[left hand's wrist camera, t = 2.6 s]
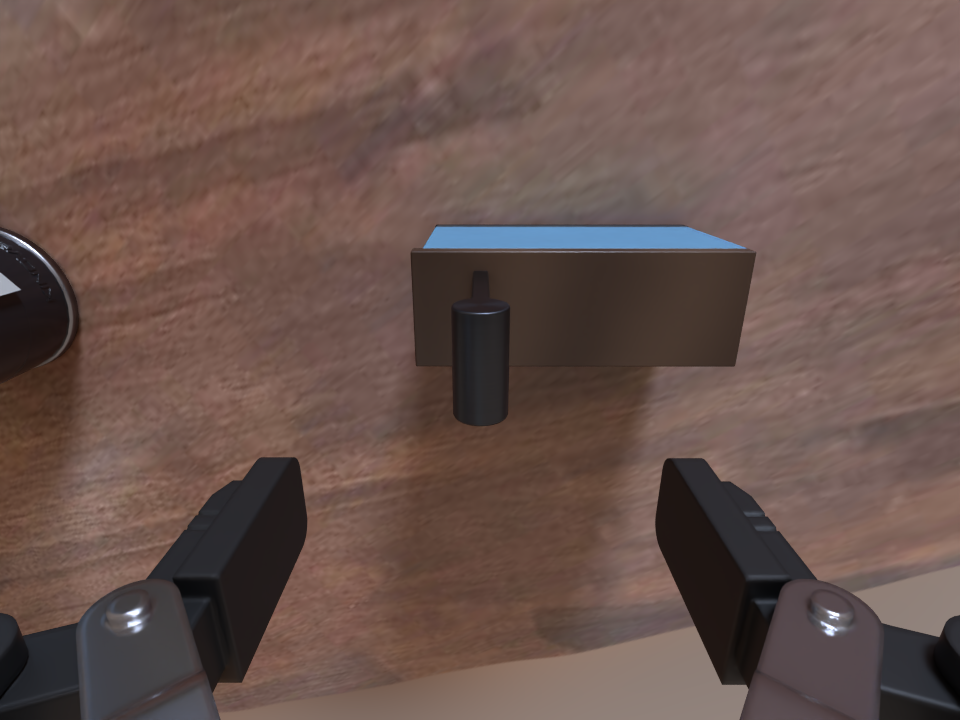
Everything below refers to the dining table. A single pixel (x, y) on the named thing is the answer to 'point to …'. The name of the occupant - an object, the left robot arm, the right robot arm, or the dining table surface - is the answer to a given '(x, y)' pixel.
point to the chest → (572, 237)
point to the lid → (572, 312)
